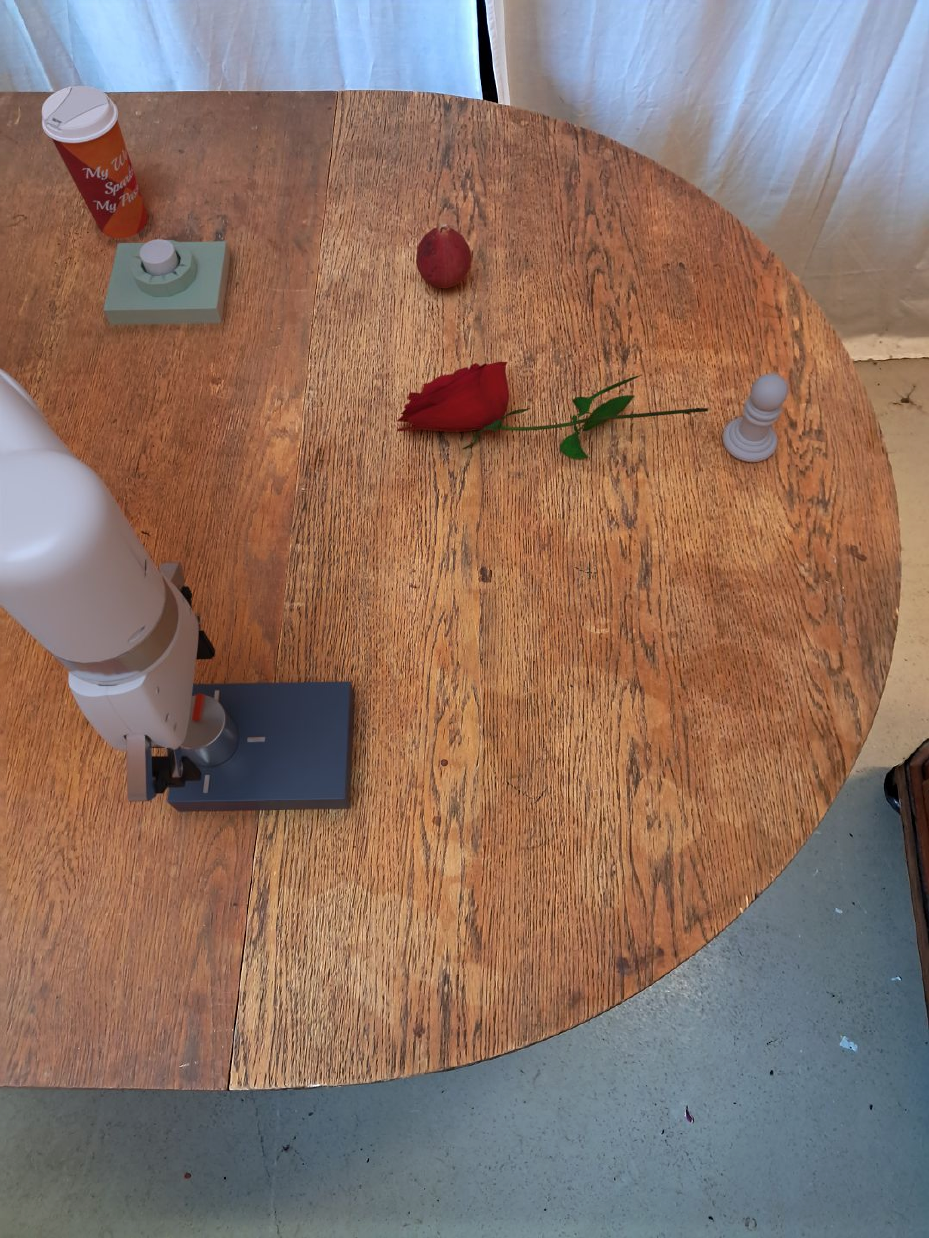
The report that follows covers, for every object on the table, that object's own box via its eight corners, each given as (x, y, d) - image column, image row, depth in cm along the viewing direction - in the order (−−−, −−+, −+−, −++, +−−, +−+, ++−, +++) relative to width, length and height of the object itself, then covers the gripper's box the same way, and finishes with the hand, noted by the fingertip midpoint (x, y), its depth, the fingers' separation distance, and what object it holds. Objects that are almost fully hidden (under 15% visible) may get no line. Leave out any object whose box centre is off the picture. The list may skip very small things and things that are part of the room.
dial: (234, 767, 71) (219, 748, 67) (180, 766, 71) (161, 747, 67) (242, 715, 73) (228, 693, 69) (189, 714, 73) (171, 692, 69)
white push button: (142, 277, 94) (136, 263, 93) (147, 252, 96) (141, 239, 95) (176, 276, 94) (171, 263, 93) (180, 252, 96) (176, 238, 95)
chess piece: (714, 453, 88) (738, 392, 80) (730, 414, 90) (755, 350, 82) (766, 471, 87) (796, 411, 79) (782, 431, 89) (812, 369, 81)
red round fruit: (430, 311, 97) (427, 251, 90) (410, 276, 99) (405, 215, 92) (479, 295, 98) (480, 234, 91) (458, 260, 100) (456, 198, 93)
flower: (715, 335, 80) (383, 354, 82) (718, 442, 80) (387, 457, 83) (698, 361, 89) (399, 377, 91) (700, 457, 89) (402, 470, 92)
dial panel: (162, 812, 73) (149, 801, 70) (177, 697, 77) (166, 683, 74) (349, 808, 73) (344, 798, 70) (354, 694, 77) (350, 680, 74)
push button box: (110, 325, 96) (96, 297, 93) (124, 258, 101) (111, 229, 97) (221, 323, 96) (212, 295, 93) (231, 257, 101) (222, 227, 97)
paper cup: (125, 254, 101) (75, 140, 88) (75, 229, 103) (20, 113, 90) (171, 214, 104) (130, 97, 91) (122, 189, 106) (75, 72, 93)
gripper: (70, 492, 56) (153, 611, 71) (15, 760, 49) (121, 829, 64) (191, 491, 56) (248, 611, 72) (154, 759, 49) (226, 828, 64)
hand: (188, 714), depth 68 cm, fingers open, 9 cm apart
